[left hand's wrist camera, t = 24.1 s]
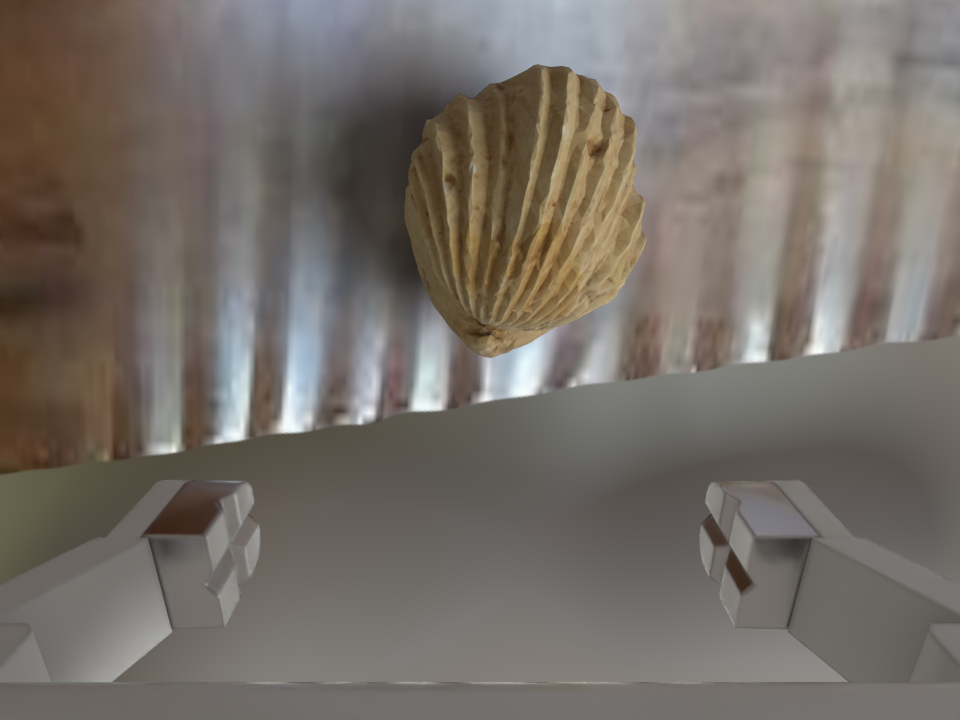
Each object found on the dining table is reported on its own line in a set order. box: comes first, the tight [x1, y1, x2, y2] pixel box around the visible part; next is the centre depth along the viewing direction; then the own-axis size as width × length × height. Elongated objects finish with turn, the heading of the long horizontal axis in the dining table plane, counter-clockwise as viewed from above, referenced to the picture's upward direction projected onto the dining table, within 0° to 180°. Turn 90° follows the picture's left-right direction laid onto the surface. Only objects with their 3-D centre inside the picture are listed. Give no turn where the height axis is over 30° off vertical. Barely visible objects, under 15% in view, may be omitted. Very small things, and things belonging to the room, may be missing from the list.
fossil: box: [404, 65, 647, 358], centre depth 35 cm, size 15×17×15 cm
